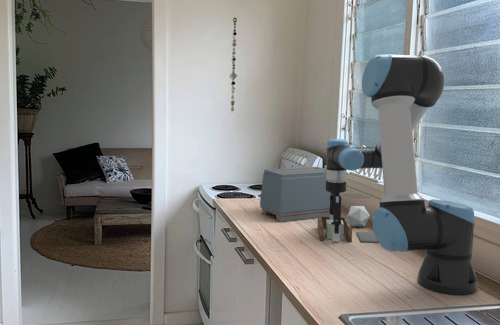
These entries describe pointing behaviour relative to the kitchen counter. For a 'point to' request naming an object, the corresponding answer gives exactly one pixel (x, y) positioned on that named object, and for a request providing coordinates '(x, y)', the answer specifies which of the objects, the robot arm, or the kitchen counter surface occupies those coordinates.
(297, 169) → the toaster
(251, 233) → the kitchen counter surface
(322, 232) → the brown u-shaped bracket
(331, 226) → the block
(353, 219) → the die
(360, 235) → the mat
